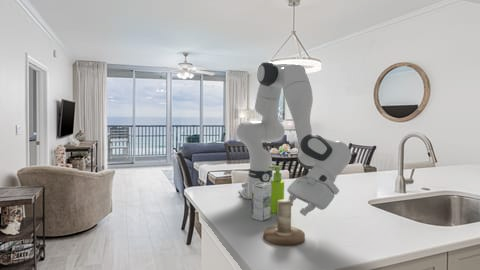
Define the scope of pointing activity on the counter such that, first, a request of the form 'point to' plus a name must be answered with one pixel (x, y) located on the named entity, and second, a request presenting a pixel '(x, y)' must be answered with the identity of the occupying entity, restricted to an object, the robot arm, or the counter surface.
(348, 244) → the counter surface
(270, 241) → the base
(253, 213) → the syrup box
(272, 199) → the soap dispenser
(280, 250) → the counter surface
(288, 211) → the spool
